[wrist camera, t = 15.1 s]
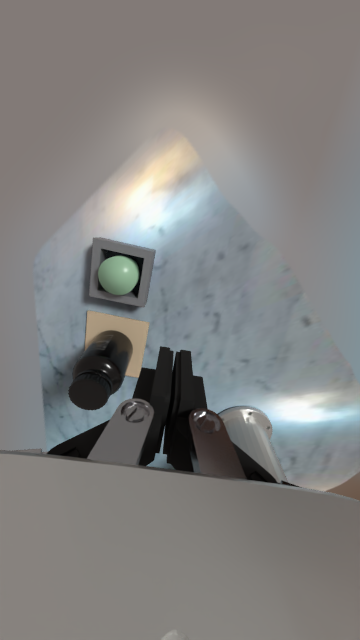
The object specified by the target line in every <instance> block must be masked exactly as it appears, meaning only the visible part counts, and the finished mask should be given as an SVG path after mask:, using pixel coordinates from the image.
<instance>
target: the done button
mask: <svg viewBox="0 0 360 640" xmlns="http://www.w3.org/2000/svg"><path fill="white" fill-rule="evenodd" d="M98 278H99V281H100V284H101V285H102V287H103V288H104V289H105V290H106V291H108V292H109V293H111V294H114V295H124V294H127V293H129V292H130V291H131V290H132V289H133V288H134V287H135V285H136V284H137V283H138V281H139V279H140V269H139V266H138V264H137V263H136V262H135V261H134V260H133V259H132V258H131V257H129V256H126V255H117V256H114V257H111V258H108V259H106V260H105V261H104V262H103V263H102V264H101V265H100V267H99V270H98Z"/></svg>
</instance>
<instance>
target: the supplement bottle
mask: <svg viewBox="0 0 360 640" xmlns="http://www.w3.org/2000/svg"><path fill="white" fill-rule="evenodd" d="M132 354H133V346H132V343H131V341H130V339H129V338H128V337H127V336H126V335H125V334H123V333H121V332H119V331H115V330H107V331H104V332H101V333H100V334H98V335H97V336H96V337H95V339H94V340H93V341H92V342H91V344H90V345H89V346H88V348H87V349H86V351H85V352H84V353H83V355H82V356H81V357H80V359H79V360H78V361H77V363H76V364H75V366H74V368H73V382H72V384H71V386H70V387H69V390H68V391H69V393H68V394H69V397H70V400H71V401H72V403H74V404H75V405H76V406H78V407H80V408H81V409H85V410H97V409H100V408H101V407H103V406H104V405H105V404H106V403H107V401H108V398H109V396H110V395H112V394H114V393H115V392H117V391H118V390H119V388H120V387H121V385H122V383H123V380H124V377H125V374H126V371H127V369H128V366H129V363H130V360H131V357H132Z"/></svg>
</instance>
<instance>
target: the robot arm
mask: <svg viewBox="0 0 360 640" xmlns="http://www.w3.org/2000/svg"><path fill="white" fill-rule="evenodd" d="M173 352H174V351H170V348H167V347H161V346H160V351H159V356H158V361H157V367H156V370H155V369H148V368H141V371H140V375H139V378H138V381H137V385H136V388H135V391H134V394H133V398H132V399H129V400H125V401H124V402H122V403H121V404H120V405H119V406H118V408H117V409H116V411H115V413H114V414H113V416H112V418H111V419H110V420H108V421H106V422H104V423H102V424H100V425H98V426H96V427H94V428H92V429H90V430H88V431H86V432H84V433H81V434H79V435H77V436H75V437H73V438H71V439H69V440H67V441H65V442H63V443H61V444H59V445H57V446H55V447H54V448H52V449H51V450H50V451H49V452H42V449H29V450H16V451H5V450H0V640H360V501H358V500H355V499H352V498H349V497H345V496H341V495H338V494H334V493H329V492H323V491H318V490H313V489H307V488H302V487H299V486H296V485H294V484H291V483H288V480H287V478H286V476H285V474H284V471H283V469H282V467H281V465H280V462H279V460H278V458H277V456H276V453H275V451H274V449H273V447H272V444H271V442H270V438H271V435H272V425H271V423H270V420H269V419H268V417H267V416H266V415H265V414H264V413H263V412H262V411H260V410H258V409H256V408H252V407H245V406H241V407H234V408H230V409H228V410H225V411H223V412H222V413H220V414H219V415H218V414H216V413H215V412H213V411H211V410H208V409H207V403H206V397H205V390H204V384H203V378H202V377H199V376H193V372H192V361H191V351H186V350H180V352H176V356H175V361H174V366H173ZM172 367H173V371H172ZM164 428H165V434H164V446H163V454H167V463H169V464H171V465H172V466H173V467H174V468H175V469H176V470H171V469H164V468H156V467H148V466H147V465H148V464H149V463H151V462H152V461H154V458H155V453H159V452H160V447H161V442H162V437H163V432H164Z"/></svg>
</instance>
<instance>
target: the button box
mask: <svg viewBox="0 0 360 640" xmlns="http://www.w3.org/2000/svg"><path fill="white" fill-rule="evenodd" d="M107 250H110V251H115V252H119V253H123V254H128V255H132V256H137V257H141V258H144V263H143V269H142V276H141V282H140V288H139V293H137V292H132V291H130V292H129V293H127V294H124V295H114V294H111V293H109V292H108V291H106V290H105V289H104V288H103V287H102V285H101V284H100V281H99V278H98V270H99V267H100V265H101V264H102V263H103V262H104V261H105V260H106V259H107ZM155 252H156V250H153V249H149V248H145V247H140V246H136V245H131V244H127V243H123V242H118V241H114V240H110V239H105V238H101V237H100V238H93V247H92V261H91V275H90V288H89V296H91V297H96V298H101V299H106V300H111V301H116V302H121V303H125V304H130V305H135V306H140V307H145V305H146V302H147V298H148V292H149V287H150V281H151V275H152V269H153V263H154V258H155Z"/></svg>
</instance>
